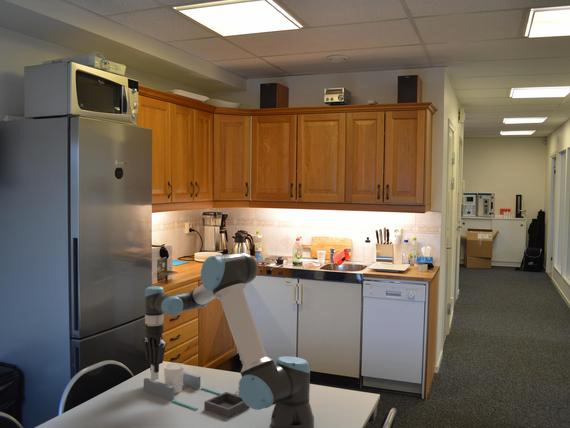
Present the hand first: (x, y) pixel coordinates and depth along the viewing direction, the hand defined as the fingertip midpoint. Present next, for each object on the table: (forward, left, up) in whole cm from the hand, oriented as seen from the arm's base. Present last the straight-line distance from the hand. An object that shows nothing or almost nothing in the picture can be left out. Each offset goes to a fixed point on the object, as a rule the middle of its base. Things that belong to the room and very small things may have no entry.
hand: (154, 379), depth 222 cm
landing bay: (-26, 0, -2) cm, 26 cm away
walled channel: (-11, 0, -2) cm, 11 cm away
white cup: (-12, 0, -2) cm, 12 cm away
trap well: (-41, 0, -2) cm, 41 cm away
